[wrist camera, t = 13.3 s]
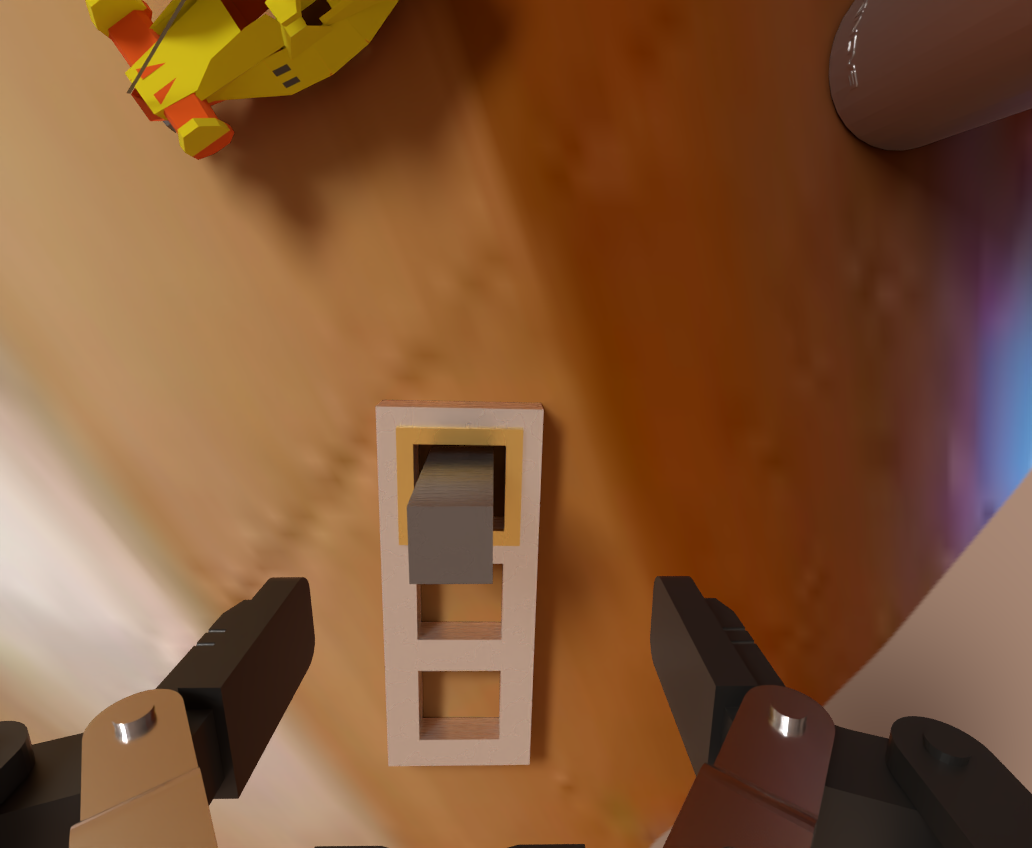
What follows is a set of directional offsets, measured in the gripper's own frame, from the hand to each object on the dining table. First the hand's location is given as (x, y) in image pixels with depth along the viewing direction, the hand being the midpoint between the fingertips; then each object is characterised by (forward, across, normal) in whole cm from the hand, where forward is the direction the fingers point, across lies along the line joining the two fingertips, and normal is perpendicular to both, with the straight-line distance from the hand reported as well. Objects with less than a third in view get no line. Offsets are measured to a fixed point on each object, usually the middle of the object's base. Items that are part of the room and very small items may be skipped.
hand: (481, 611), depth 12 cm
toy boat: (+22, +10, -21) cm, 32 cm away
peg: (+22, +2, +5) cm, 23 cm away
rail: (+22, +3, +13) cm, 26 cm away
